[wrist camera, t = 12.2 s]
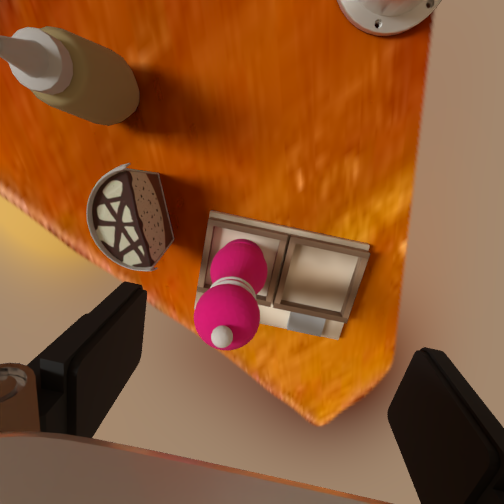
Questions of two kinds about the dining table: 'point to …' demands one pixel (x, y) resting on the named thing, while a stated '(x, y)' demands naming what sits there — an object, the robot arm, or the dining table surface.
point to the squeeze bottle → (72, 73)
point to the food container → (130, 218)
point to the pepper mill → (232, 296)
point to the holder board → (294, 272)
